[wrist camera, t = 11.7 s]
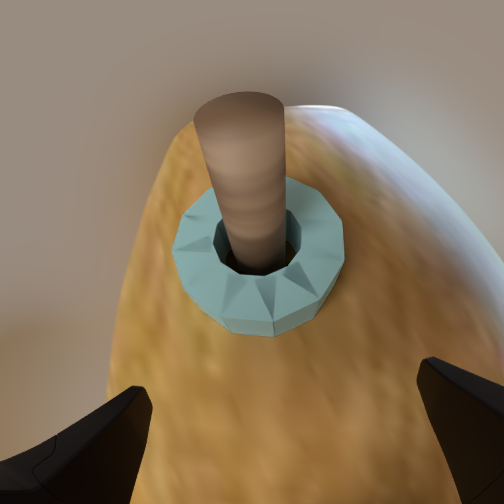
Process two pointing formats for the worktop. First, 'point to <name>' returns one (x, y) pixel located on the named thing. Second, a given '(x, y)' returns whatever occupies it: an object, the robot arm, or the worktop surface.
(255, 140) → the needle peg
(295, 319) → the bead
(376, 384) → the worktop surface
